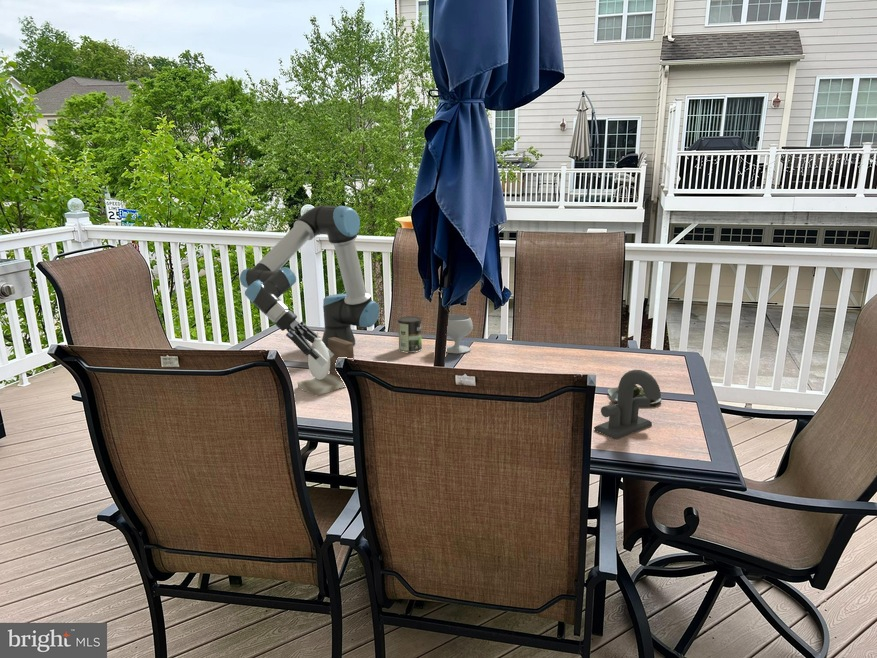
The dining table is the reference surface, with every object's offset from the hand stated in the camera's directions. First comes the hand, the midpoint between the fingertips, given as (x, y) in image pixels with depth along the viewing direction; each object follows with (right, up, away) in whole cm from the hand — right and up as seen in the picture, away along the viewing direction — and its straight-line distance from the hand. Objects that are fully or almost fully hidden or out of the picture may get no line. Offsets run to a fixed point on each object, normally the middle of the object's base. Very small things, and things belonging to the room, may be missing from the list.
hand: (328, 360), depth 224 cm
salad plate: (+107, -13, -10) cm, 109 cm away
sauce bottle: (-3, -7, +2) cm, 8 cm away
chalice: (+48, +2, +48) cm, 68 cm away
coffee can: (+27, +2, +49) cm, 56 cm away
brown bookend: (-2, -10, +5) cm, 11 cm away
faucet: (+99, -20, -36) cm, 107 cm away
